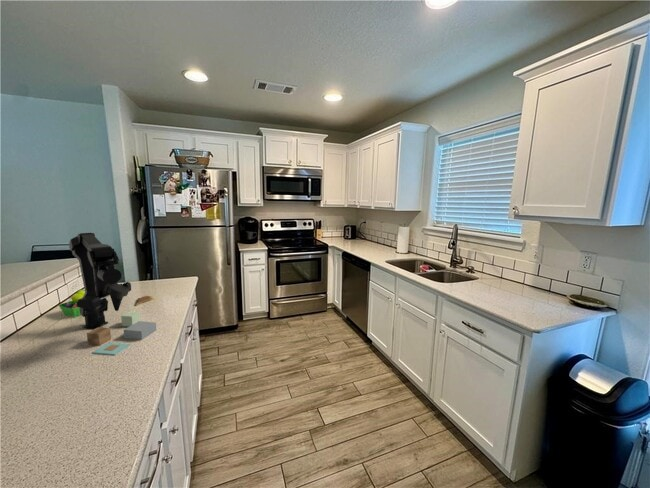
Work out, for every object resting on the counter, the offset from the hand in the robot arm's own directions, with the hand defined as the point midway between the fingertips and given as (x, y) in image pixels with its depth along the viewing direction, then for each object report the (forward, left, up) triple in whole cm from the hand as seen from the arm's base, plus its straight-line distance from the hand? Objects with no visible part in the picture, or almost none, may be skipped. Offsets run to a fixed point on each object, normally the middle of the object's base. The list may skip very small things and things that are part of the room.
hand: (107, 315), depth 107 cm
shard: (-16, +40, -11) cm, 44 cm away
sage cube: (-2, +14, -11) cm, 18 cm away
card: (+7, -6, -10) cm, 14 cm away
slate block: (+9, +6, -11) cm, 15 cm away
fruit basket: (-36, +20, -11) cm, 43 cm away
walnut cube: (-2, -2, -11) cm, 11 cm away
